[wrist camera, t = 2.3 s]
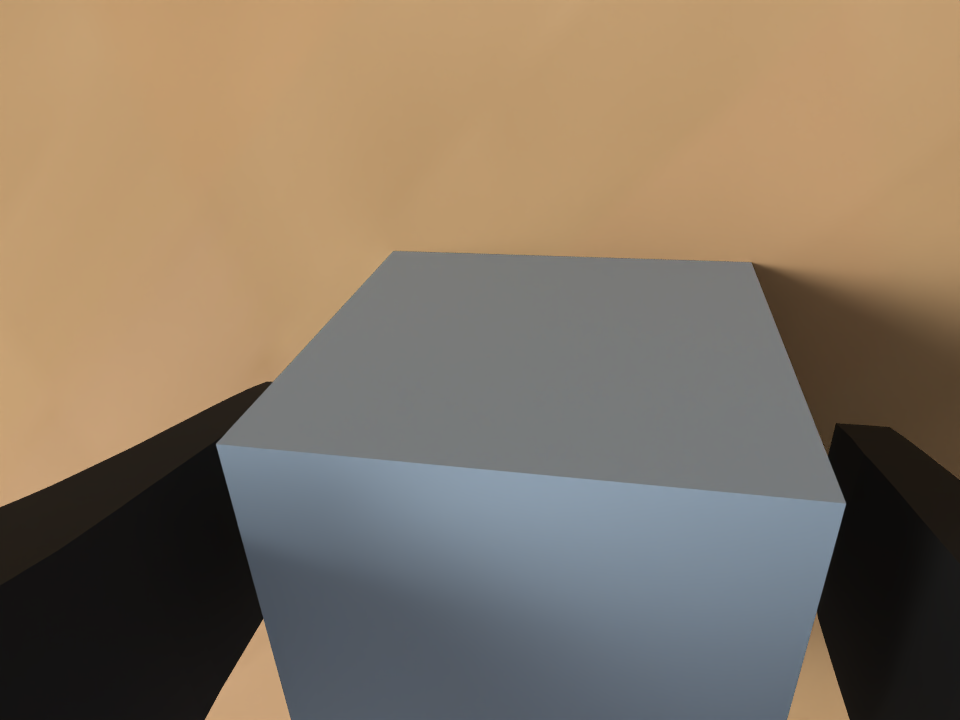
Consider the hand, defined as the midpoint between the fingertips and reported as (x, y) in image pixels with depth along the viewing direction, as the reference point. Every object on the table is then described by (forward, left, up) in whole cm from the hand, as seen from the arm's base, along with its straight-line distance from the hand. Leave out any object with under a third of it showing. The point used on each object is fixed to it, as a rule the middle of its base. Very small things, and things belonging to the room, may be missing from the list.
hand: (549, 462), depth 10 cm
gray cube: (0, 0, -2) cm, 2 cm away
